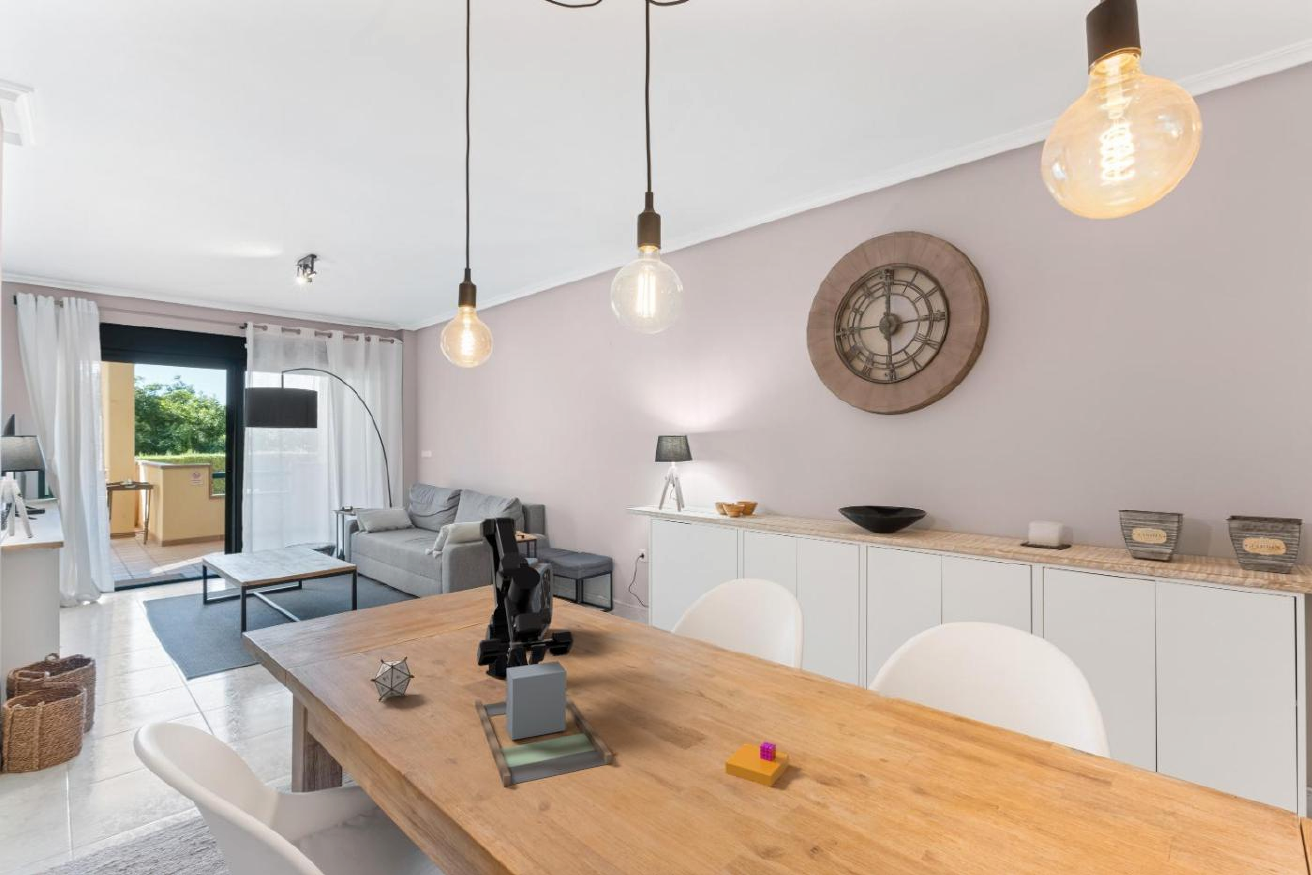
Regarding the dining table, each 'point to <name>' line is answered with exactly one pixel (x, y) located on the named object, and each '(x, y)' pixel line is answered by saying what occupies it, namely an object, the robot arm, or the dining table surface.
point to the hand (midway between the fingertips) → (532, 687)
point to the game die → (392, 678)
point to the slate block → (535, 700)
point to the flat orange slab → (758, 763)
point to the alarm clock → (543, 589)
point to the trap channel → (544, 749)
